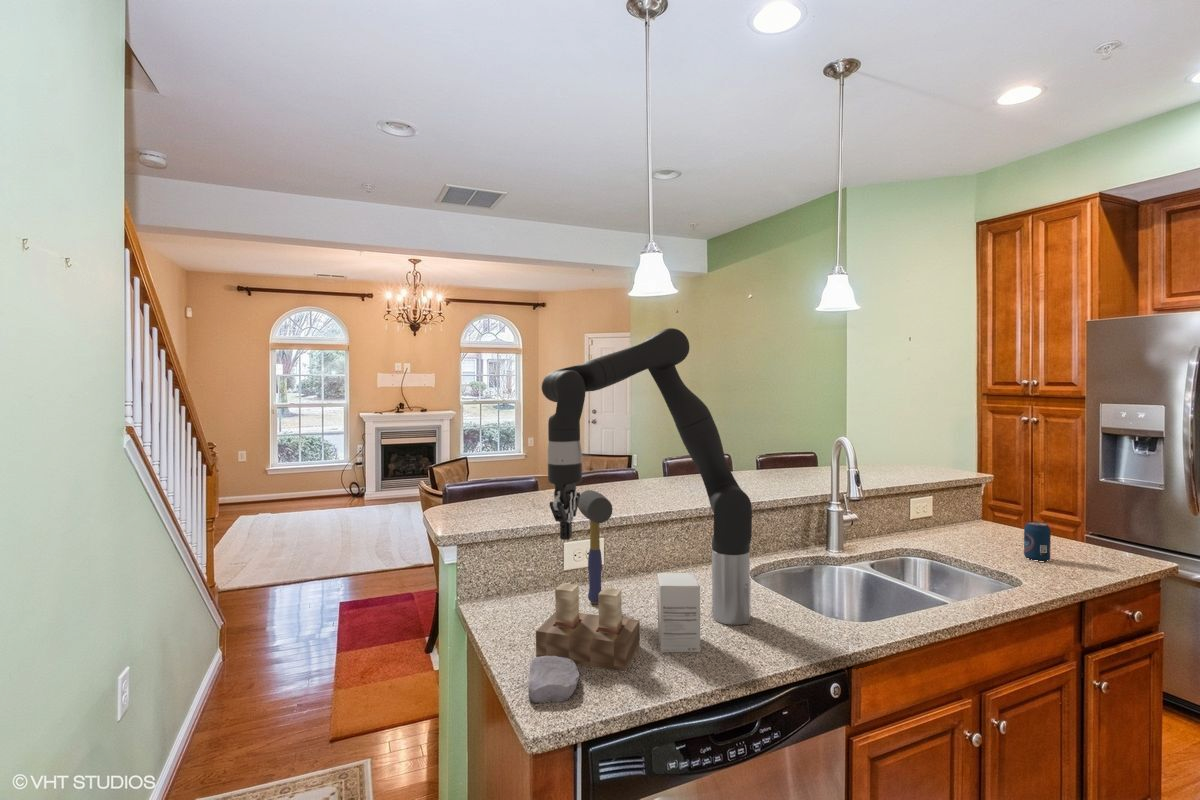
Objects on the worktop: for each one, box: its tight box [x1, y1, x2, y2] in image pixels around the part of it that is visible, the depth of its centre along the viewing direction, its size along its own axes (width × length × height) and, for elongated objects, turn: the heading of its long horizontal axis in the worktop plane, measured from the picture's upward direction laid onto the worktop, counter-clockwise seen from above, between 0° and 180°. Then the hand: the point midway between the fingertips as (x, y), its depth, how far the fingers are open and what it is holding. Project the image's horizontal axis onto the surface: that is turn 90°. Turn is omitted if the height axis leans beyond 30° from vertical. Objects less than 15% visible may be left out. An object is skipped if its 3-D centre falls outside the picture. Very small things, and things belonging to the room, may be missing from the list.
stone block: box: [528, 656, 580, 704], centre depth 114 cm, size 12×5×10 cm
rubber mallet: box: [577, 489, 613, 605], centre depth 156 cm, size 12×8×30 cm, turn 16°
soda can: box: [1023, 520, 1052, 562], centre depth 190 cm, size 7×7×12 cm
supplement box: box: [656, 572, 701, 653], centre depth 131 cm, size 9×9×15 cm
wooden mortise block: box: [535, 611, 641, 673], centre depth 128 cm, size 20×12×6 cm, turn 72°
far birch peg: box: [554, 582, 580, 629], centre depth 129 cm, size 4×4×13 cm
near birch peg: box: [597, 587, 623, 635], centre depth 126 cm, size 4×4×13 cm
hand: (566, 538), depth 128 cm, fingers closed
